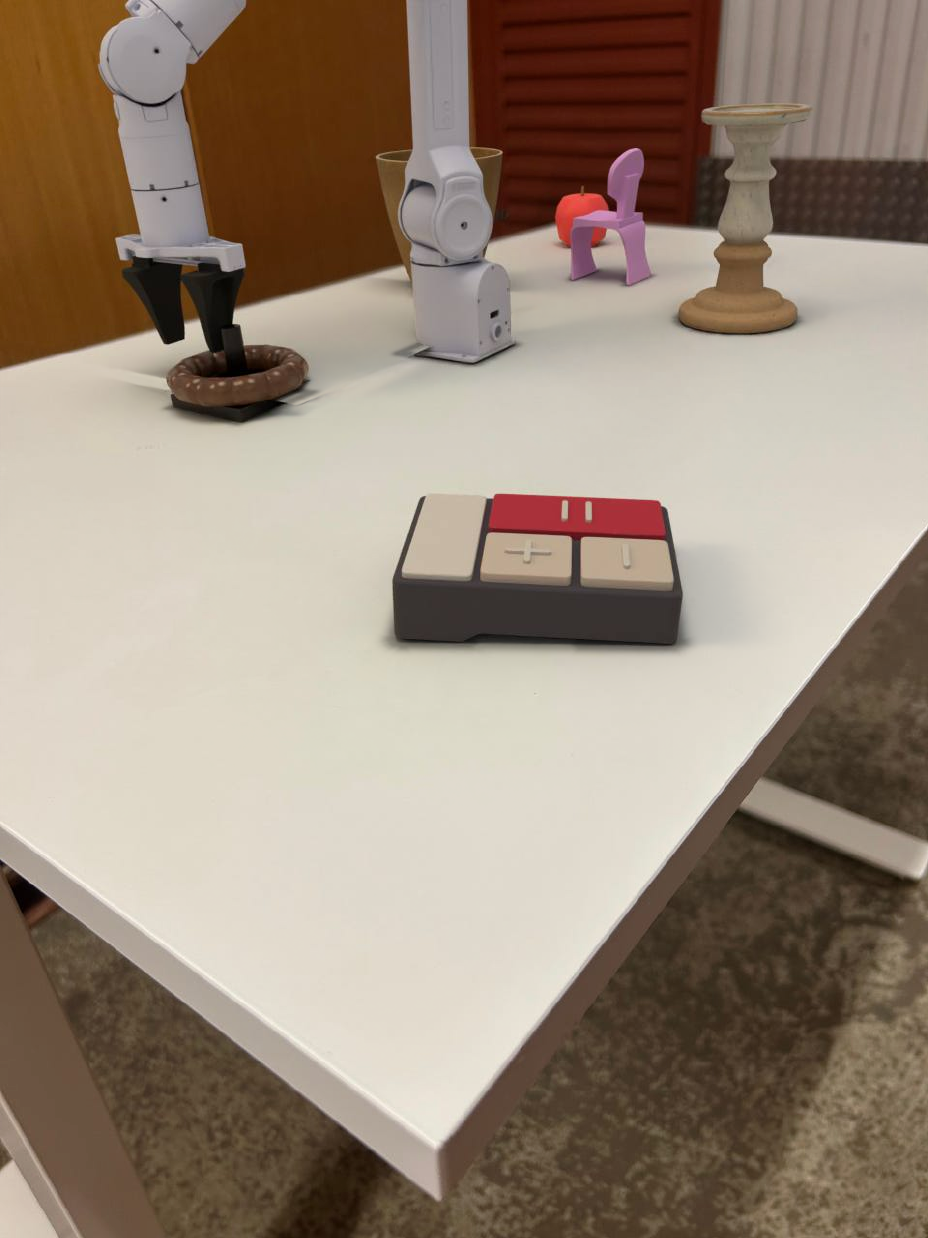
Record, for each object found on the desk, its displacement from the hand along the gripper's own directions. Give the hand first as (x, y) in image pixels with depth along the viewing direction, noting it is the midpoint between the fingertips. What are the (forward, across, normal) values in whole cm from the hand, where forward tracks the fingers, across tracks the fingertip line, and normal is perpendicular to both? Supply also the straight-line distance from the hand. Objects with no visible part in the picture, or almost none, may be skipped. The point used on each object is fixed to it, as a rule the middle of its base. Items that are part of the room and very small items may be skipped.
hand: (197, 345), depth 89 cm
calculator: (+5, +47, -17) cm, 50 cm away
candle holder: (+5, +35, +44) cm, 56 cm away
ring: (+2, +5, 0) cm, 5 cm away
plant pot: (+5, -2, +42) cm, 42 cm away
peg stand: (+4, +5, 0) cm, 7 cm away
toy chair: (+5, +13, +57) cm, 59 cm away
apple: (+5, -1, +75) cm, 75 cm away
